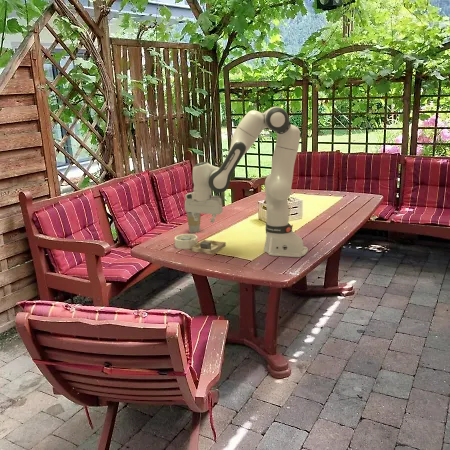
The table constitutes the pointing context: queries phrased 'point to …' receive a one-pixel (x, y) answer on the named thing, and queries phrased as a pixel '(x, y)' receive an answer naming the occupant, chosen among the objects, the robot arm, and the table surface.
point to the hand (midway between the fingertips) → (204, 221)
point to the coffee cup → (193, 222)
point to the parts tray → (214, 248)
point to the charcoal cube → (206, 245)
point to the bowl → (185, 241)
